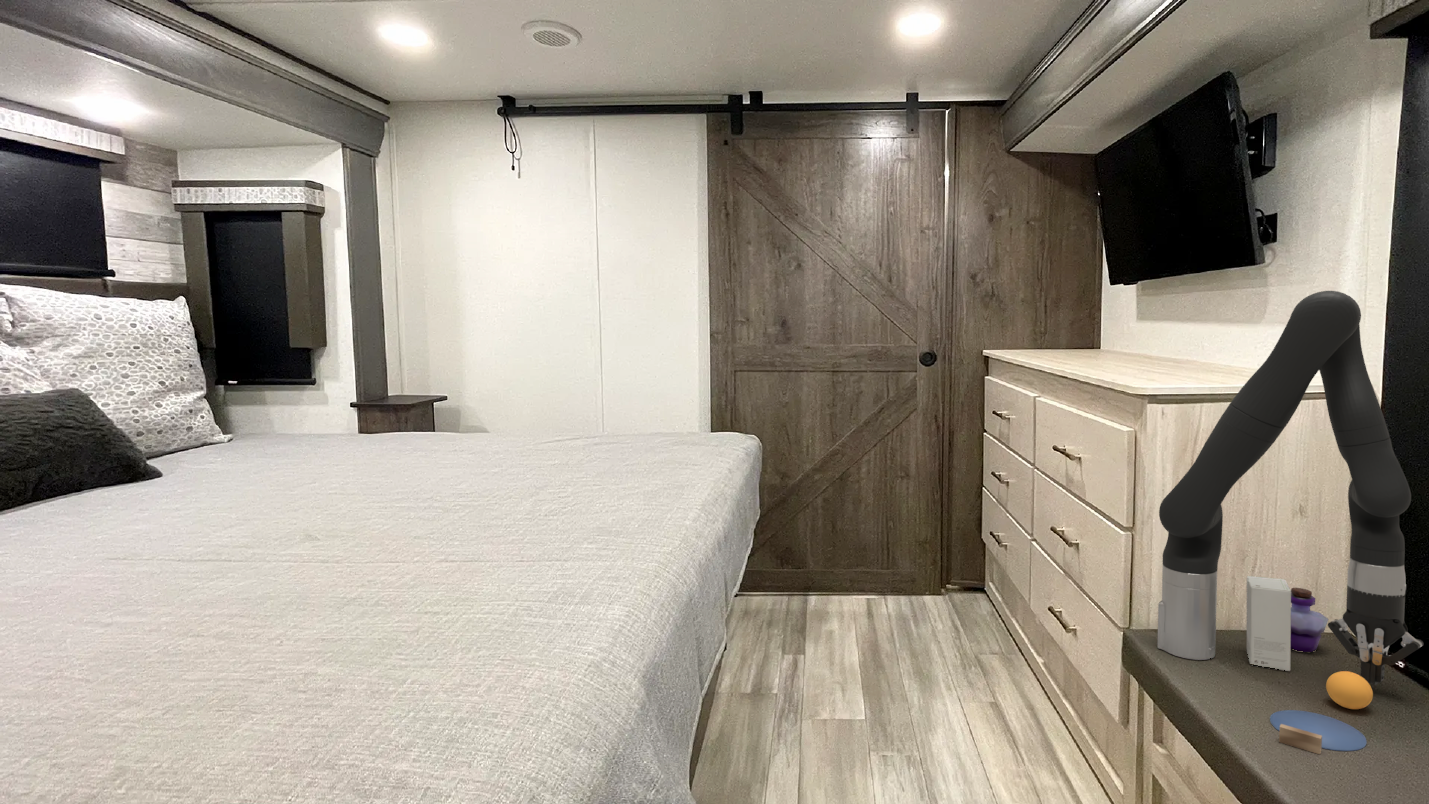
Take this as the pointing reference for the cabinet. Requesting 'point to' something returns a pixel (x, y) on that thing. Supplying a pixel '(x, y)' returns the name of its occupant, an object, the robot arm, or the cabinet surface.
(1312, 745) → the wall
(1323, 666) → the cabinet surface
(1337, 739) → the disc
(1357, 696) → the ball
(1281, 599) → the skincare box
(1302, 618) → the potion bottle
